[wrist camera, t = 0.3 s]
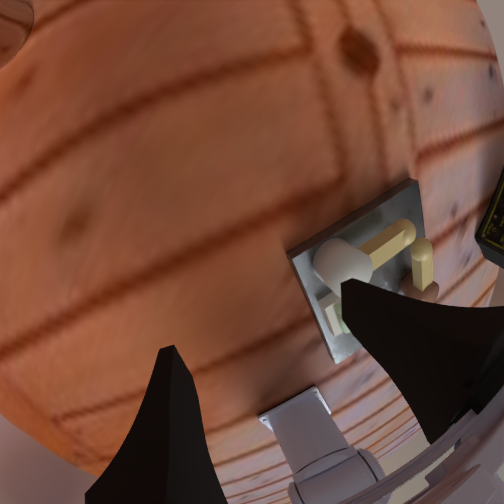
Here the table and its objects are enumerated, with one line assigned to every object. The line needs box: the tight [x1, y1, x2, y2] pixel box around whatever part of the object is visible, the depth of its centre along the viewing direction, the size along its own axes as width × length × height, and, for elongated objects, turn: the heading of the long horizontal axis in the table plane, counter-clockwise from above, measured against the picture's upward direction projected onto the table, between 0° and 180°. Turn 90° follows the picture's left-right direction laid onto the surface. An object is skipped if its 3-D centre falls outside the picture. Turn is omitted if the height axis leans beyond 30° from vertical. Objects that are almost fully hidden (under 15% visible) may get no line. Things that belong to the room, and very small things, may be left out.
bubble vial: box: [318, 292, 350, 337], centre depth 23 cm, size 4×2×2 cm, turn 24°
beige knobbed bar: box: [398, 237, 439, 303], centre depth 24 cm, size 9×4×3 cm, turn 24°
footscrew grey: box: [313, 219, 416, 297], centre depth 20 cm, size 9×4×3 cm, turn 114°
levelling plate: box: [286, 178, 425, 364], centre depth 25 cm, size 15×14×1 cm
